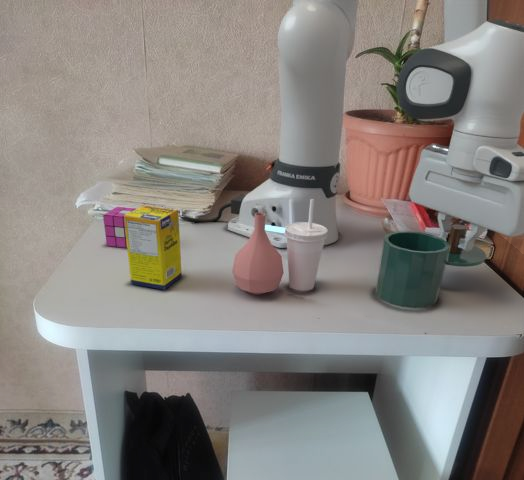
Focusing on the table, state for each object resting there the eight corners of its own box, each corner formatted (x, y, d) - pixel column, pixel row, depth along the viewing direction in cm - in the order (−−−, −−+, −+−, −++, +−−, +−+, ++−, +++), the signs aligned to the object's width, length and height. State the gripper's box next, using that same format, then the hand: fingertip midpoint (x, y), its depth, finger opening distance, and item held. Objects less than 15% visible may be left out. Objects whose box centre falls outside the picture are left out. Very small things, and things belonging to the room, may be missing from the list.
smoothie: (310, 301, 77) (318, 207, 70) (273, 290, 80) (278, 199, 73) (328, 287, 82) (338, 198, 75) (293, 277, 85) (299, 190, 77)
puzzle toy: (120, 236, 99) (116, 206, 96) (148, 239, 98) (145, 209, 95) (106, 245, 94) (102, 214, 91) (136, 249, 93) (133, 217, 90)
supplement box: (182, 276, 83) (179, 209, 77) (164, 291, 78) (159, 220, 72) (149, 270, 85) (144, 204, 79) (130, 284, 80) (123, 214, 74)
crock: (366, 300, 78) (375, 243, 73) (387, 280, 85) (396, 227, 80) (425, 317, 74) (439, 257, 69) (443, 295, 81) (456, 239, 76)
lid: (412, 260, 81) (418, 229, 79) (431, 241, 88) (437, 212, 85) (475, 275, 77) (484, 243, 74) (491, 254, 84) (499, 224, 81)
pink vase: (285, 284, 82) (290, 209, 76) (278, 304, 76) (283, 224, 69) (237, 279, 83) (238, 204, 77) (227, 299, 77) (227, 219, 70)
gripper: (410, 141, 80) (393, 228, 87) (530, 171, 66) (497, 272, 73) (437, 140, 83) (418, 223, 90) (557, 168, 69) (523, 265, 76)
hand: (454, 245), depth 81 cm, fingers closed on lid, 2 cm apart
